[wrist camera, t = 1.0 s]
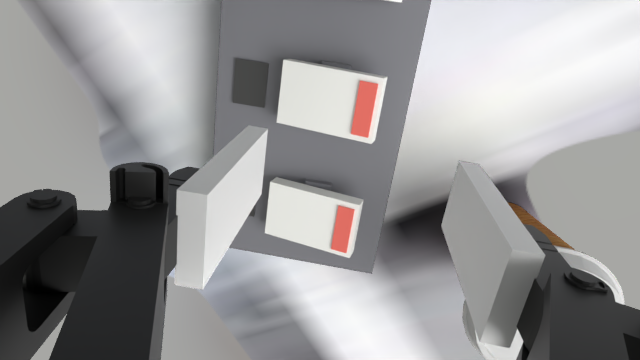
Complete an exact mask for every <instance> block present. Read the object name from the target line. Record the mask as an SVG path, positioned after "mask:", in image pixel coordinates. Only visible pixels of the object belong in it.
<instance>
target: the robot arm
mask: <svg viewBox="0 0 640 360" xmlns="http://www.w3.org/2000/svg"><path fill="white" fill-rule="evenodd" d="M267 134H268V129H267V128H261V127H255V126H249V125H248V126H247V127H246V128H245V129H244V130H243V131H242V132H241V133H239V134H238V135H237V136H236V137H235V138H234V139H233V140H232V141H231V142H229V143H228V144H227V145H226V146H225V147H224V148H223V149H222V150H220V151H219V152H218V153H217V154H216V155H215V156H214V157H213V158H212V159H210V160H209V161H208V162H207V163H206V164H205V165H204V166H203V167H202V168H200V169H199V168H193V167H186V168H183V169H180V170H177V171H175V172H173V173H172V174H171V175H170V176H169V172H168V170H167V169H166V168H164V167H163V166H160V165H157V164H153V163H144V162H136V163H126V164H121V165H118V166H116V167H113V168H112V169H111V170H110V193H111V203H110V206H109V209H108V210H102V211H93V210H77V203H76V198H75V196H74V195H72V194H71V193H69V192H64V191H60V190H51V189H43V190H34V191H33V192H29V193H25V194H22V195H20V196H18V197H16V198H14V199H13V200H11V201H9V202H8V203H7V204H5V205H3V206H2V207H0V360H30V359H31V358H32V357H33V355H34V354H35V353H36V352H37V350H38V349H39V348H40V346H41V345H42V344H43V343H44V342H45V340H46V339H47V338H48V336H49V335H50V334H51V333H52V331H53V330H54V329H55V328H56V326H57V325H58V324H59V322H60V321H61V320H62V319H63V318H64V316H65V315H66V314H67V316H66V318H65V321H64V323H63V326H62V328H61V331H60V333H59V336H58V338H57V341H56V343H55V346H54V348H53V351H52V353H51V356H50V359H49V360H161V350H162V339H163V328H164V318H165V306H166V296H167V276H168V275H169V274H170V272H171V271H172V270H173V268H174V267H175V285H179V286H185V287H189V288H194V289H200V290H203V289H204V287H205V285H206V284H207V282H208V280H209V279H210V277H211V276H212V274H213V272H214V271H215V269H216V267H217V266H218V264H219V262H220V261H221V259H222V258H223V256H224V254H225V253H226V251H227V249H228V248H229V246H230V245H231V243H232V241H233V240H234V238H235V236H236V235H237V233H238V232H239V230H240V228H241V227H242V225H243V223H244V222H245V220H246V219H247V217H248V215H249V214H250V212H251V210H252V209H253V207H254V205H255V204H256V202H257V201H258V199H259V197H260V196H261V194H262V184H263V174H264V164H265V154H266V144H267ZM441 227H442V230H443V233H444V236H445V239H446V242H447V245H448V248H449V251H450V254H451V257H452V260H453V263H454V266H455V269H456V272H457V275H458V278H459V281H460V284H461V287H462V290H463V293H464V296H465V299H466V302H467V305H468V308H469V311H470V314H471V318H472V321H473V324H474V327H475V330H476V333H477V336H478V339H479V342H480V343H485V344H491V345H496V346H501V347H507V348H510V347H511V344H512V341H513V339H514V336H515V334H516V331H517V329H518V331H519V333H520V335H521V337H522V340H523V344H522V346H521V349H520V351H519V354H518V356H517V359H516V360H640V310H638V309H635V308H632V307H629V306H626V305H623V304H620V303H617V302H615V297H614V293H613V291H612V290H611V288H610V286H608V285H607V284H606V283H605V282H604V281H602V280H601V279H599V278H597V277H596V276H594V275H592V274H590V273H587V272H585V271H582V270H580V269H576V268H572V267H570V265H569V264H568V263H567V261H566V260H565V259H564V258H563V256H562V255H561V254H560V253H558V250H557V249H556V248H555V246H554V245H552V243H551V241H550V240H549V239H548V237H547V236H546V235H545V234H544V233H542V232H541V231H539V230H538V229H537V228H535V227H534V226H532V225H527V224H523V223H522V222H521V221H520V219H519V218H518V217H517V215H516V214H515V212H514V211H513V210H512V208H511V207H510V206H509V204H508V203H507V201H506V200H505V199H504V197H503V196H502V195H501V193H500V192H499V190H498V189H497V188H496V186H495V185H494V183H493V182H492V181H491V179H490V178H489V177H488V175H487V174H486V172H485V171H484V170H483V168H482V167H481V166H480V164H476V163H470V162H464V161H459V162H458V166H457V170H456V173H455V177H454V181H453V184H452V188H451V192H450V195H449V199H448V203H447V206H446V210H445V213H444V217H443V221H442V224H441Z"/></svg>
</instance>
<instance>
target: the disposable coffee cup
mask: <svg viewBox="0 0 640 360" xmlns="http://www.w3.org/2000/svg"><path fill="white" fill-rule="evenodd" d="M507 203H508V204H509V206H510V207H511V208H512V210H513V211H514V212H515V214H516V215H517V217H518V218H519V219H520V221H521V222H522V223H523V224H527V225H532V226H534V227H535V228H537V229H538V230H539V231H541V232H542V233H544V234H545V235H546V236H547V237H548V239H549V240H550V241H551V243H552V245H554V246H555V248H556V249H557V250H558V253H560V254H561V255H562V256H563V258H564V259H565V260H566V261H567V263H568V264H569V265H570V267H572V268H576V269H580V270H582V271H585V272H587V273H590V274H592V275H594V276H596V277H597V278H599V279H601V280H602V281H604V282H605V283H606V284H607V285H608V286H610V288H611V290H612V291H613V293H614V297H615V302H617V303H620V304H623V305H624V297H623V293H622V289H621V287H620V285H619V283H618V281H617V279H616V277H615V276H614V275H613V274H612V273H611V272H610V270H609V269H608V268H607V267H606V266H604V265H603V264H602V263H600V262H599V261H598V260H596V259H595V258H593V257H591V256H589V255H587V254H585V253H583V252H579V251H576V250H574V249H573V248H572V247H571V246H569V245H568V244H567V243H565V242H564V241H563V240H562V239H561V238H560V237H558V236H557V235H555V234H554V233H553V232H552V231H550V230H549V229H548V228H547V227H545V226H544V225H543V224H542V223H540V222H539V221H538V220H537V219H535V218H534V217H533V216H531V215H530V214H529V213H528V212H527V211H526V210H524V209H523V208H521V207H520V206H518V205H516V204H513V203H509V202H507ZM462 318H463V323H464V327H465V331H466V335H467V337H468V339H469V341H470V342H471V344H472V346H473V347H474V348H475V349H476V350H477V351H478V352H479V354H480V355H481V356H483V357H484V358H486V359H487V360H516V359H517V356H518V354H519V351H520V349H521V346H522V344H523V340H522V337H521V335H520V333H519V331H518V329H517V331H516V334H515V336H514V339H513V341H512V344H511V347H510V348H507V347H501V346H496V345H491V344H485V343H480V342H479V339H478V336H477V333H476V330H475V327H474V324H473V321H472V318H471V314H470V311H469V308H468V305H467V302H466V299H465V301H464V306H463V317H462Z"/></svg>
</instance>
